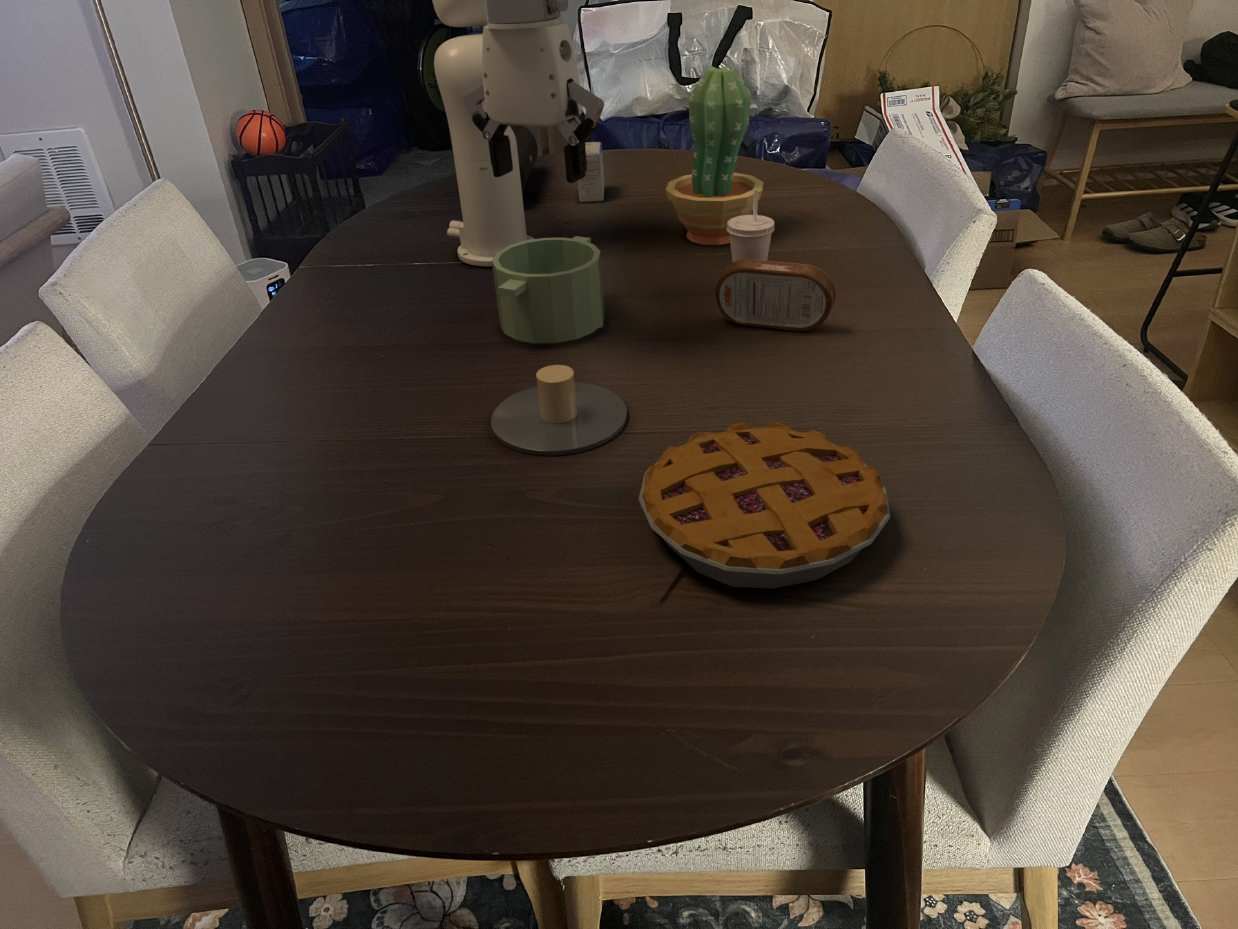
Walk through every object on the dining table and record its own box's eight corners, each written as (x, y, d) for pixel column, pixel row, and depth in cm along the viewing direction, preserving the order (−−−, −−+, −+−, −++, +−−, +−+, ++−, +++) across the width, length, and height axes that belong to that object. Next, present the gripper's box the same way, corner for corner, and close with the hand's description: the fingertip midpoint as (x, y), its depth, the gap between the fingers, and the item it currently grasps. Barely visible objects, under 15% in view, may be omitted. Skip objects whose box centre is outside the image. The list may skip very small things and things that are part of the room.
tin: (833, 326, 117) (838, 263, 113) (829, 337, 115) (834, 273, 110) (718, 315, 122) (718, 254, 117) (712, 325, 120) (712, 263, 115)
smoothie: (770, 299, 125) (774, 197, 118) (723, 298, 127) (724, 197, 119) (773, 281, 131) (777, 182, 123) (728, 280, 132) (729, 182, 124)
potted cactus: (783, 236, 146) (791, 67, 132) (707, 260, 139) (708, 84, 125) (720, 213, 157) (722, 54, 143) (647, 234, 150) (641, 70, 136)
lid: (465, 443, 98) (456, 391, 95) (537, 381, 109) (532, 334, 106) (586, 473, 92) (581, 420, 89) (650, 405, 103) (648, 355, 99)
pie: (604, 491, 89) (601, 448, 86) (798, 436, 96) (800, 394, 93) (711, 634, 72) (711, 585, 69) (937, 554, 79) (945, 507, 76)
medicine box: (603, 202, 165) (600, 152, 160) (578, 203, 165) (575, 154, 161) (604, 188, 172) (602, 141, 167) (581, 190, 172) (577, 142, 167)
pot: (469, 345, 118) (458, 275, 113) (546, 291, 132) (539, 226, 127) (560, 363, 113) (554, 290, 107) (630, 304, 126) (627, 237, 121)
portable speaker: (526, 210, 163) (520, 153, 158) (471, 213, 164) (463, 155, 158) (541, 170, 184) (536, 118, 179) (492, 172, 185) (485, 120, 179)
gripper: (612, 4, 95) (622, 173, 104) (474, 6, 102) (494, 164, 111) (577, 13, 89) (590, 191, 98) (433, 15, 96) (457, 180, 105)
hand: (539, 176), depth 104 cm, fingers open, 9 cm apart
